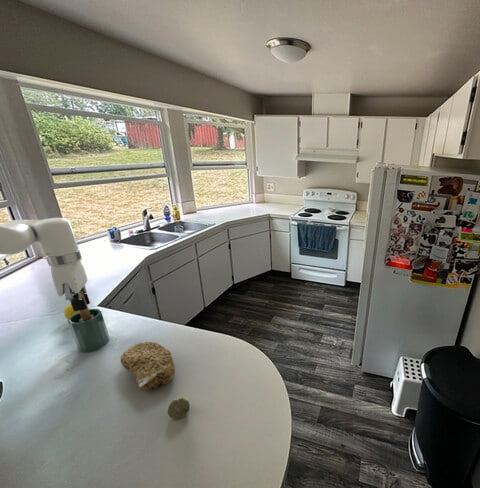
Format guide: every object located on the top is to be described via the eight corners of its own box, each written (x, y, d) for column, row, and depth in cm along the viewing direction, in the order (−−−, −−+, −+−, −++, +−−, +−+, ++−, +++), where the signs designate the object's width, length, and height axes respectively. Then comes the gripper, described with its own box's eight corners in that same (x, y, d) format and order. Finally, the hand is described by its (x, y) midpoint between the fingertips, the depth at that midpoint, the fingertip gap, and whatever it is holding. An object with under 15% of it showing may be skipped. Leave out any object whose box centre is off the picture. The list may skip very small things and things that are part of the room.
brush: (82, 337, 86) (67, 297, 80) (86, 330, 89) (71, 291, 83) (97, 334, 87) (83, 294, 82) (100, 327, 91) (87, 288, 85)
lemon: (64, 324, 99) (57, 307, 96) (79, 315, 104) (73, 299, 101) (75, 326, 98) (69, 308, 95) (90, 317, 103) (84, 301, 101)
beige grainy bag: (182, 380, 78) (167, 336, 91) (173, 367, 74) (159, 322, 86) (132, 409, 71) (124, 357, 84) (120, 397, 67) (113, 344, 79)
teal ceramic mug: (74, 355, 84) (63, 326, 80) (83, 339, 91) (73, 312, 87) (106, 347, 88) (96, 319, 84) (112, 333, 95) (103, 306, 91)
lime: (193, 409, 68) (190, 396, 67) (177, 425, 64) (173, 412, 63) (182, 402, 70) (179, 389, 68) (165, 418, 66) (162, 404, 64)
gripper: (59, 250, 83) (76, 298, 90) (34, 270, 70) (57, 324, 76) (88, 247, 87) (103, 293, 93) (70, 265, 73) (88, 317, 80)
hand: (82, 306), depth 85 cm, fingers closed on brush, 2 cm apart
